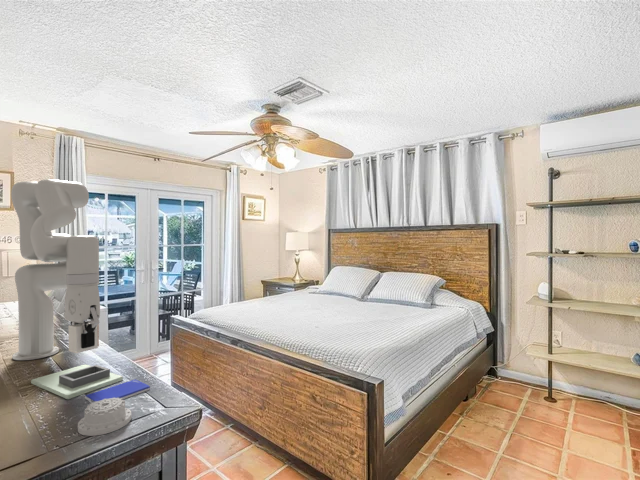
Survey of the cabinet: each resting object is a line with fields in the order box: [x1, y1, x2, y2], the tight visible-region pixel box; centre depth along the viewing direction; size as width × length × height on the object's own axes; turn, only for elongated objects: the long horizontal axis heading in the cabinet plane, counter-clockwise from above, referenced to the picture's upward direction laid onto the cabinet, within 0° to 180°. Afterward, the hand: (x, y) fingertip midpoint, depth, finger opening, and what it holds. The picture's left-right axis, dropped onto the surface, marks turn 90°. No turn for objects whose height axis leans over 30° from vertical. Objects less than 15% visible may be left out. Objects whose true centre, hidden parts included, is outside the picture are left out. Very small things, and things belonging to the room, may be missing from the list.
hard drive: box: [84, 378, 151, 404], centre depth 90 cm, size 2×8×12 cm
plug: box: [68, 323, 100, 354], centre depth 97 cm, size 4×6×7 cm, turn 151°
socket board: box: [30, 364, 124, 400], centre depth 98 cm, size 20×14×3 cm
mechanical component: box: [77, 397, 132, 437], centre depth 76 cm, size 10×4×10 cm
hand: (83, 345), depth 97 cm, fingers closed on plug, 4 cm apart
